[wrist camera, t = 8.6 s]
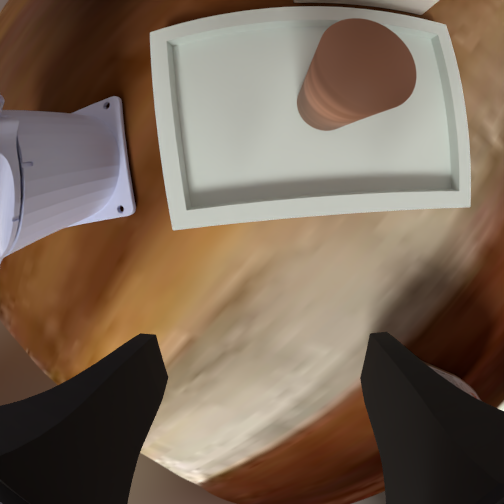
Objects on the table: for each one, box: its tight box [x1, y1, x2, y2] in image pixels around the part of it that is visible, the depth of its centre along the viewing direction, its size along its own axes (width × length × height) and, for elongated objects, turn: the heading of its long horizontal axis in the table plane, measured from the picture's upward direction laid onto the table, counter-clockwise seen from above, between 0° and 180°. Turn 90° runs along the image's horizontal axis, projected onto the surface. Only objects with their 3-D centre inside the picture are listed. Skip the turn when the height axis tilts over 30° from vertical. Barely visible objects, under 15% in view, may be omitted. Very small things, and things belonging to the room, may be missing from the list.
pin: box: [297, 18, 417, 131], centre depth 10 cm, size 3×3×8 cm
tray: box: [150, 6, 471, 230], centre depth 14 cm, size 18×12×2 cm, turn 97°
